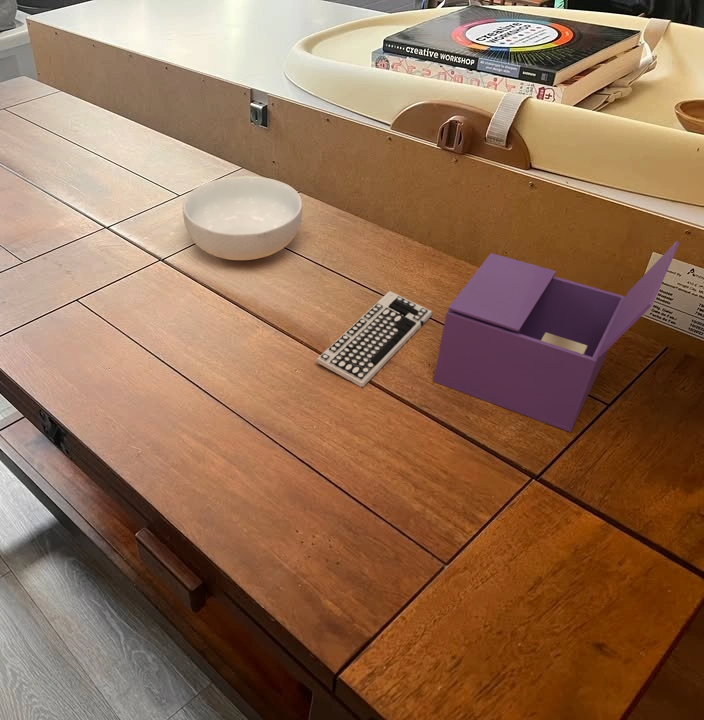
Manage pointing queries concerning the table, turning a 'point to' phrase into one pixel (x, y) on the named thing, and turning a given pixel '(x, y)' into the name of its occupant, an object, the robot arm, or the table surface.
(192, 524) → the table surface
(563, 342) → the block
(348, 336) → the keyboard
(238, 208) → the cereal bowl
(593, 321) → the box
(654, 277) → the flap
